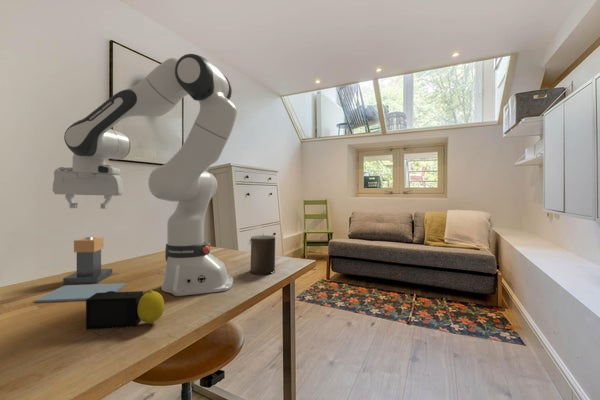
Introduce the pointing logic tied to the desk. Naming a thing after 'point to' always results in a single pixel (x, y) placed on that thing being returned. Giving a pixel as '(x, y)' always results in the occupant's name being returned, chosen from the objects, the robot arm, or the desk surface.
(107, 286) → the mat
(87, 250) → the collar
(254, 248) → the pillar candle
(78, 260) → the stand
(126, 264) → the desk surface
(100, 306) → the black rectangular box
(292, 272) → the desk surface
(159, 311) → the lemon
